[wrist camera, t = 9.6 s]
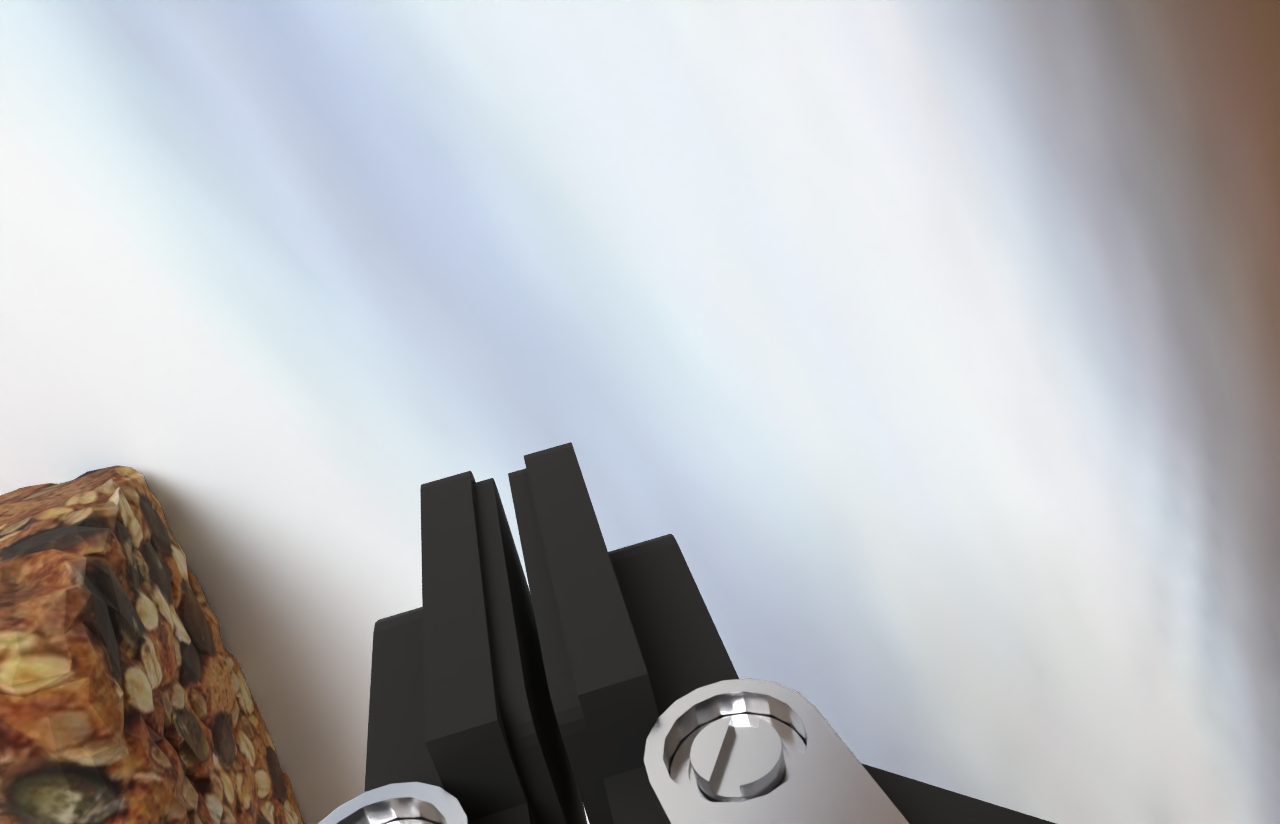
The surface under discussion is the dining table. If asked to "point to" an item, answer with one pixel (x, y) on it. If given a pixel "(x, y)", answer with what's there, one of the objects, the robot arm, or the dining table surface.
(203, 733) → the bread
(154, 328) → the dining table surface
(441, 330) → the dining table surface
